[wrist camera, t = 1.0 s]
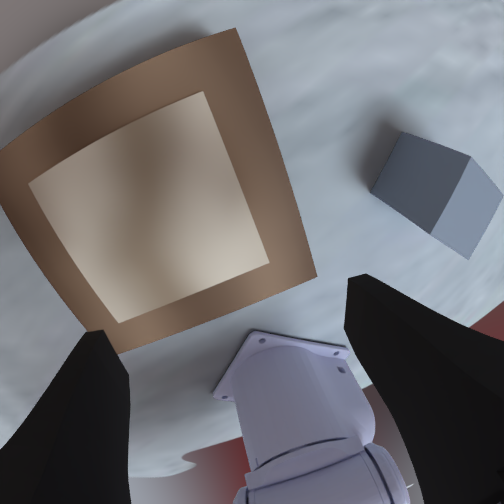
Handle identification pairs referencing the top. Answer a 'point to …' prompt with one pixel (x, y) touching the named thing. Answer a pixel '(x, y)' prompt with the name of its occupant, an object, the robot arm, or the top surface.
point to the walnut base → (159, 196)
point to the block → (439, 192)
